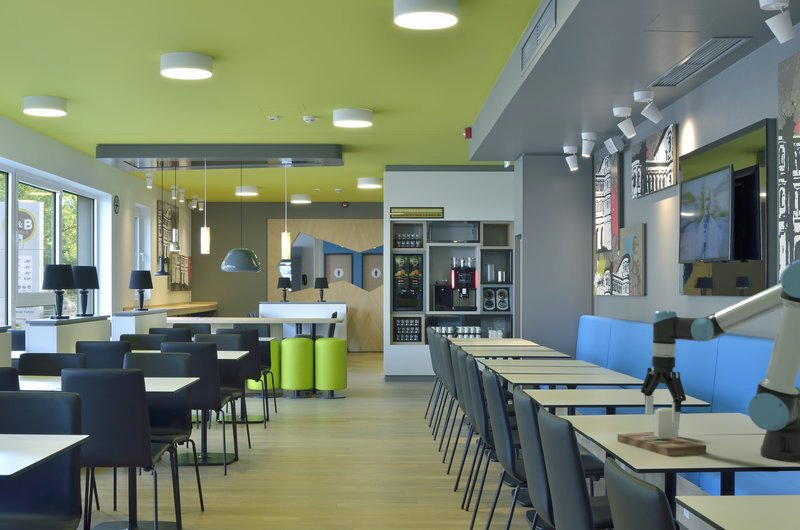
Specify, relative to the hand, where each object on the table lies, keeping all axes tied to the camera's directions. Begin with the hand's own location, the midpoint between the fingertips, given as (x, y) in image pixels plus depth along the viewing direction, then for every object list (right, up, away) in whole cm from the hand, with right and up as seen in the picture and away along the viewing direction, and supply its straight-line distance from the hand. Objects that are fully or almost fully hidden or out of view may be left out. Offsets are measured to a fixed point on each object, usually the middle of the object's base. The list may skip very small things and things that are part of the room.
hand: (662, 418), depth 285 cm
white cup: (+8, -11, +19) cm, 23 cm away
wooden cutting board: (-1, -10, -1) cm, 10 cm away
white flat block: (-2, -7, -1) cm, 7 cm away
